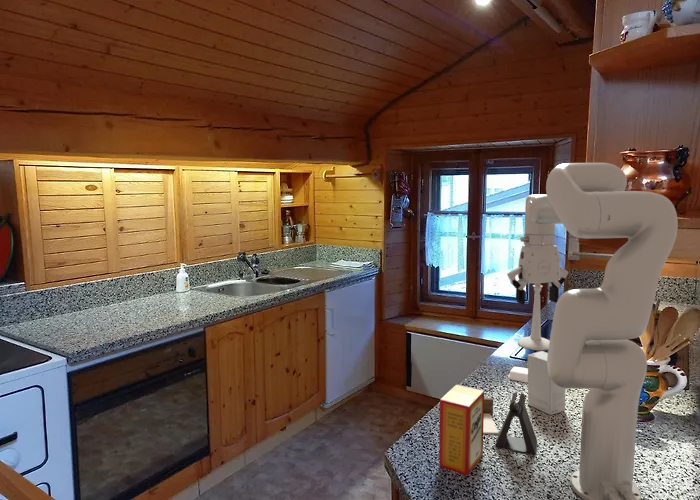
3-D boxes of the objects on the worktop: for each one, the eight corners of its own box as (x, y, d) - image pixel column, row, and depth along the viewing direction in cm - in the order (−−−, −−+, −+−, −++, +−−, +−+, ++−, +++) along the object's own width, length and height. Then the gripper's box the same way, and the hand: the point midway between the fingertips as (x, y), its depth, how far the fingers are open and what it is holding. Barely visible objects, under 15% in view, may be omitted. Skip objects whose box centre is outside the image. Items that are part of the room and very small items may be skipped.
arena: (503, 436, 121) (504, 420, 121) (462, 435, 122) (462, 420, 121) (492, 411, 134) (492, 397, 134) (454, 411, 135) (455, 397, 134)
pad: (498, 434, 122) (498, 432, 122) (469, 433, 123) (469, 432, 123) (489, 415, 132) (489, 413, 132) (463, 414, 133) (463, 413, 133)
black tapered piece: (537, 443, 118) (539, 395, 116) (535, 455, 113) (537, 405, 111) (498, 435, 122) (499, 389, 120) (494, 447, 116) (495, 399, 115)
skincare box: (565, 411, 134) (567, 358, 132) (549, 416, 131) (551, 362, 129) (541, 399, 141) (543, 349, 139) (525, 404, 138) (527, 353, 136)
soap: (540, 377, 157) (541, 369, 157) (536, 385, 152) (536, 376, 151) (511, 372, 162) (512, 364, 162) (506, 379, 156) (506, 371, 156)
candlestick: (542, 353, 179) (545, 271, 175) (511, 344, 188) (513, 267, 184) (560, 345, 187) (563, 267, 183) (529, 337, 197) (531, 263, 192)
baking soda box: (455, 447, 117) (456, 382, 114) (482, 455, 113) (484, 389, 111) (439, 466, 109) (439, 397, 107) (467, 476, 105) (469, 405, 103)
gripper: (516, 243, 128) (514, 307, 130) (576, 240, 131) (574, 303, 133) (502, 240, 136) (501, 301, 138) (560, 237, 138) (558, 297, 141)
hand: (537, 302), depth 136 cm, fingers open, 9 cm apart
